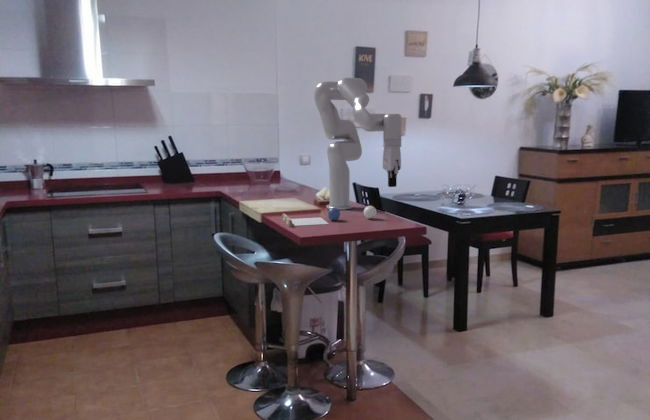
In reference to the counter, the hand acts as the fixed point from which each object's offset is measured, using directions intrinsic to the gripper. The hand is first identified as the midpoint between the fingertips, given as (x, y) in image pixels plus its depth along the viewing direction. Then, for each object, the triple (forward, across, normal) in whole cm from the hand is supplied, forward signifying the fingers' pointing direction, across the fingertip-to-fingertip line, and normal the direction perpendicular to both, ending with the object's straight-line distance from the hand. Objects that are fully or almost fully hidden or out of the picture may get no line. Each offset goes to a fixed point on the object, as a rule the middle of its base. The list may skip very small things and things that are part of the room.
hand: (392, 186), depth 229 cm
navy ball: (+10, -1, -26) cm, 28 cm away
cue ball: (+11, -1, -10) cm, 15 cm away
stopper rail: (+13, -1, -46) cm, 48 cm away
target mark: (+13, -1, -37) cm, 39 cm away
